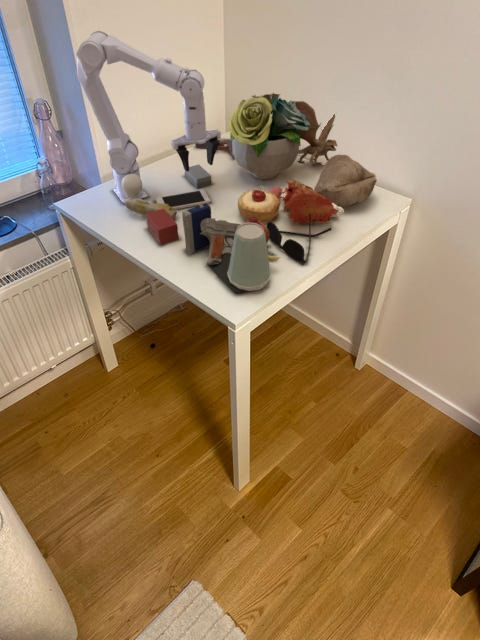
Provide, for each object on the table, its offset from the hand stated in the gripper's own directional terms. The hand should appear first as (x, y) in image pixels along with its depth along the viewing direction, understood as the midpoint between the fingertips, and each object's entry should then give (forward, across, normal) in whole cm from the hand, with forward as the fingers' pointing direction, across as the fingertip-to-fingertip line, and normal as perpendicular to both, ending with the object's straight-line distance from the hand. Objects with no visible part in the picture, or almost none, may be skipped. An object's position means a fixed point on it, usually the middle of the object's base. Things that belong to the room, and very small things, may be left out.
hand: (198, 166), depth 143 cm
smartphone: (+10, -6, 0) cm, 12 cm away
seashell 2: (+10, +36, -24) cm, 44 cm away
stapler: (+6, +27, -27) cm, 39 cm away
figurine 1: (+9, -18, -3) cm, 20 cm away
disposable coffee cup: (-6, -8, -44) cm, 45 cm away
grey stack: (+10, +4, +10) cm, 15 cm away
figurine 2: (+10, +16, -18) cm, 26 cm away
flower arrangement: (+10, +25, +2) cm, 27 cm away
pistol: (+12, -7, -33) cm, 36 cm away
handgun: (+8, +17, +19) cm, 27 cm away
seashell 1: (+3, +14, -24) cm, 28 cm away
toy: (+10, +4, -35) cm, 37 cm away
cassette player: (+10, -12, -24) cm, 29 cm away
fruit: (+10, 0, -32) cm, 34 cm away
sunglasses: (+10, +13, -35) cm, 39 cm away
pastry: (+10, +10, -18) cm, 23 cm away
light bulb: (+10, -21, +4) cm, 23 cm away
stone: (+10, -4, -20) cm, 23 cm away
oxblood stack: (+10, -18, -13) cm, 24 cm away
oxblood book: (+7, -18, -13) cm, 23 cm away
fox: (+7, -4, -40) cm, 41 cm away
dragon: (+9, +40, -1) cm, 41 cm away
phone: (+10, -10, -38) cm, 41 cm away
